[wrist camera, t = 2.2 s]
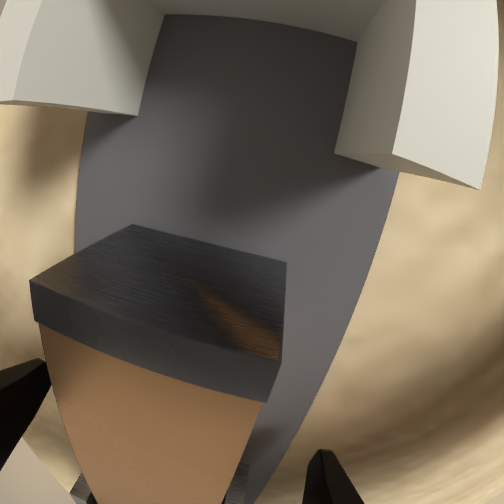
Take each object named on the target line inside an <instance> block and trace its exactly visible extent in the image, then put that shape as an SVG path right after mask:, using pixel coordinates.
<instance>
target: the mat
mask: <svg viewBox="0 0 504 504" xmlns="http://www.w3.org/2000/svg"><path fill="white" fill-rule="evenodd" d="M357 43H358V42H355V41H351V40H348V39H345V38H341V37H338V36H334V35H330V34H326V33H322V32H318V31H314V30H309V29H305V28H300V27H295V26H290V25H285V24H279V23H274V22H267V21H261V20H253V19H245V18H236V17H225V16H212V15H189V14H165V16H164V19H163V22H162V25H161V28H160V31H159V34H158V38H157V41H156V44H155V48H154V51H153V55H152V59H151V62H150V66H149V70H148V74H147V78H146V82H145V86H144V90H143V94H142V99H141V103H140V108H139V112H138V116H133V115H122V114H109V113H98V112H91V111H88V115H87V121H86V127H85V132H84V139H83V146H82V153H81V160H80V169H79V178H78V189H77V202H76V220H75V253H77V252H79V251H81V250H83V249H85V248H86V247H88V246H90V245H92V244H94V243H96V242H98V241H99V240H101V239H103V238H105V237H107V236H109V235H111V234H113V233H115V232H117V231H119V230H121V229H123V228H125V227H127V226H129V225H131V224H135V225H139V226H143V227H147V228H151V229H155V230H159V231H163V232H167V233H171V234H175V235H179V236H183V237H187V238H191V239H195V240H199V241H203V242H207V243H211V244H215V245H219V246H223V247H227V248H231V249H235V250H239V251H243V252H247V253H251V254H255V255H259V256H263V257H267V258H271V259H275V260H279V261H283V262H287V270H286V293H285V313H284V331H283V348H282V363H281V366H280V369H279V372H278V374H277V377H276V380H275V382H274V385H273V388H272V390H271V393H270V396H269V398H268V401H267V403H264V402H263V403H262V406H261V408H260V411H259V413H258V416H257V419H256V421H255V424H254V426H253V429H252V432H251V434H250V437H249V439H248V442H247V444H246V447H245V449H244V452H243V454H242V456H241V459H240V461H239V463H243V464H248V465H250V468H249V474H248V480H247V485H246V491H245V497H244V503H243V504H253V503H254V502H255V500H256V499H257V497H258V496H259V494H260V493H261V491H262V490H263V488H264V487H265V485H266V483H267V482H268V480H269V479H270V477H271V475H272V474H273V472H274V471H275V469H276V467H277V466H278V464H279V462H280V461H281V459H282V457H283V456H284V454H285V452H286V450H287V449H288V447H289V445H290V443H291V442H292V440H293V438H294V436H295V434H296V433H297V431H298V429H299V427H300V425H301V423H302V422H303V420H304V418H305V416H306V414H307V412H308V410H309V408H310V406H311V404H312V402H313V400H314V398H315V396H316V394H317V392H318V390H319V388H320V386H321V384H322V382H323V380H324V378H325V376H326V374H327V372H328V370H329V367H330V365H331V363H332V361H333V359H334V356H335V354H336V352H337V350H338V348H339V345H340V343H341V341H342V338H343V336H344V334H345V331H346V329H347V327H348V324H349V322H350V319H351V317H352V314H353V312H354V309H355V307H356V304H357V302H358V299H359V297H360V294H361V291H362V289H363V286H364V283H365V281H366V278H367V275H368V272H369V269H370V267H371V264H372V261H373V258H374V255H375V252H376V249H377V246H378V243H379V240H380V237H381V234H382V231H383V228H384V224H385V221H386V218H387V214H388V211H389V208H390V204H391V201H392V197H393V194H394V190H395V186H396V183H397V179H398V175H399V171H395V170H389V169H384V168H379V167H376V166H373V165H370V164H367V163H364V162H361V161H357V160H354V159H351V158H348V157H344V156H341V155H337V154H334V151H335V146H336V142H337V138H338V134H339V130H340V125H341V121H342V116H343V112H344V107H345V103H346V98H347V94H348V89H349V84H350V79H351V74H352V69H353V64H354V59H355V54H356V49H357Z"/></svg>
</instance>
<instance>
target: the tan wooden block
mask: <svg viewBox="0 0 504 504" xmlns="http://www.w3.org/2000/svg"><path fill="white" fill-rule="evenodd" d="M286 270H287V262H283V261H279V260H275V259H271V258H267V257H263V256H259V255H255V254H251V253H247V252H243V251H239V250H235V249H231V248H227V247H223V246H219V245H215V244H211V243H207V242H203V241H199V240H195V239H191V238H187V237H183V236H179V235H175V234H171V233H167V232H163V231H159V230H155V229H151V228H147V227H143V226H139V225H135V224H131V225H129V226H127V227H125V228H123V229H121V230H119V231H117V232H115V233H113V234H111V235H109V236H107V237H105V238H103V239H101V240H99V241H98V242H96V243H94V244H92V245H90V246H88V247H86V248H85V249H83V250H81V251H79V252H77V253H75V254H74V255H72V256H70V257H68V258H66V259H65V260H63V261H61V262H59V263H58V264H56V265H54V266H52V267H51V268H49V269H47V270H45V271H44V272H42V273H40V274H39V275H37V276H35V277H33V278H32V279H30V280H29V283H30V292H31V300H32V307H33V314H34V320H35V321H36V322H38V323H39V328H40V334H41V340H42V345H43V350H44V354H45V359H46V363H47V368H48V372H49V376H50V380H51V384H52V387H53V391H54V394H55V398H56V401H57V405H58V408H59V411H60V414H61V417H62V420H63V423H64V426H65V429H66V432H67V435H68V437H69V440H70V443H71V445H72V448H73V450H74V453H75V455H76V458H77V460H78V463H79V465H80V467H81V470H82V472H83V474H84V476H85V479H86V481H87V483H88V485H89V487H90V489H91V491H92V493H93V495H94V497H95V499H96V501H97V503H98V504H221V503H222V501H223V499H224V496H225V494H226V492H227V490H228V487H229V485H230V483H231V480H232V478H233V476H234V473H235V471H236V468H237V466H238V464H239V461H240V459H241V456H242V454H243V452H244V449H245V447H246V444H247V442H248V439H249V437H250V434H251V432H252V429H253V426H254V424H255V421H256V419H257V416H258V413H259V411H260V408H261V406H262V403H263V402H264V403H267V401H268V398H269V396H270V393H271V390H272V388H273V385H274V382H275V380H276V377H277V374H278V372H279V369H280V366H281V363H282V348H283V331H284V313H285V293H286Z"/></svg>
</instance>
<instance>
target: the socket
mask: <svg viewBox="0 0 504 504" xmlns="http://www.w3.org/2000/svg"><path fill="white" fill-rule="evenodd" d="M165 14H189V15H212V16H225V17H236V18H245V19H253V20H261V21H267V22H274V23H279V24H285V25H290V26H295V27H300V28H305V29H309V30H314V31H318V32H322V33H326V34H330V35H334V36H338V37H341V38H345V39H348V40H351V41H355V42H358V43H357V49H356V54H355V59H354V64H353V69H352V74H351V79H350V84H349V89H348V94H347V98H346V103H345V107H344V112H343V116H342V121H341V125H340V130H339V134H338V138H337V142H336V146H335V151H334V154H337V155H341V156H344V157H348V158H351V159H354V160H357V161H361V162H364V163H367V164H370V165H373V166H376V167H379V168H384V169H389V170H395V171H400V172H405V173H410V174H415V175H419V176H424V177H429V178H433V179H437V180H442V181H446V182H450V183H454V184H458V185H462V186H466V187H470V188H474V189H477V190H480V188H481V184H482V180H483V176H484V171H485V166H486V162H487V157H488V152H489V146H490V140H491V134H492V128H493V121H494V113H495V104H496V94H497V81H498V58H499V36H498V14H497V1H496V0H7V2H6V4H5V7H4V9H3V12H2V14H1V17H0V104H6V105H27V106H42V107H54V108H64V109H74V110H82V111H91V112H98V113H109V114H122V115H133V116H138V112H139V108H140V103H141V99H142V94H143V90H144V86H145V82H146V78H147V74H148V70H149V66H150V62H151V59H152V55H153V51H154V48H155V44H156V41H157V38H158V34H159V31H160V28H161V25H162V22H163V19H164V16H165Z"/></svg>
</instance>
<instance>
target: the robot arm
mask: <svg viewBox="0 0 504 504" xmlns="http://www.w3.org/2000/svg"><path fill="white" fill-rule="evenodd" d="M51 385H52V384H51V380H50V376H49V372H48V368H47V363H46V362H45V361H44V360H42V359H40V358H36V359H33V360H30V361H27V362H24V363H21V364H19V365H16V366H13V367H10V368H7V369H4V370H1V371H0V471H1V469H2V467H3V465H4V464H5V462H6V461H7V459H8V457H9V456H10V454H11V453H12V451H13V449H14V448H15V446H16V444H17V443H18V441H19V440H20V438H21V437H22V435H23V434H24V432H25V431H26V429H27V428H28V426H29V425H30V423H31V422H32V420H33V418H34V417H35V415H36V413H37V411H38V410H39V408H40V406H41V404H42V402H43V400H44V398H45V396H46V394H47V392H48V391H49V389H50V387H51ZM302 504H364V502H363V500H362V499H361V497H360V496H359V494H358V492H357V491H356V489H355V487H354V486H353V484H352V483H351V481H350V479H349V478H348V476H347V474H346V473H345V471H344V469H343V468H342V466H341V464H340V463H339V461H338V459H337V458H336V456H335V454H334V453H333V451H331V450H327V449H319V450H318V451H317V452H316V453H315V455H314V456H313V458H312V459H311V460H310V462H309V464H308V468H307V475H306V482H305V489H304V496H303V502H302Z"/></svg>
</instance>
